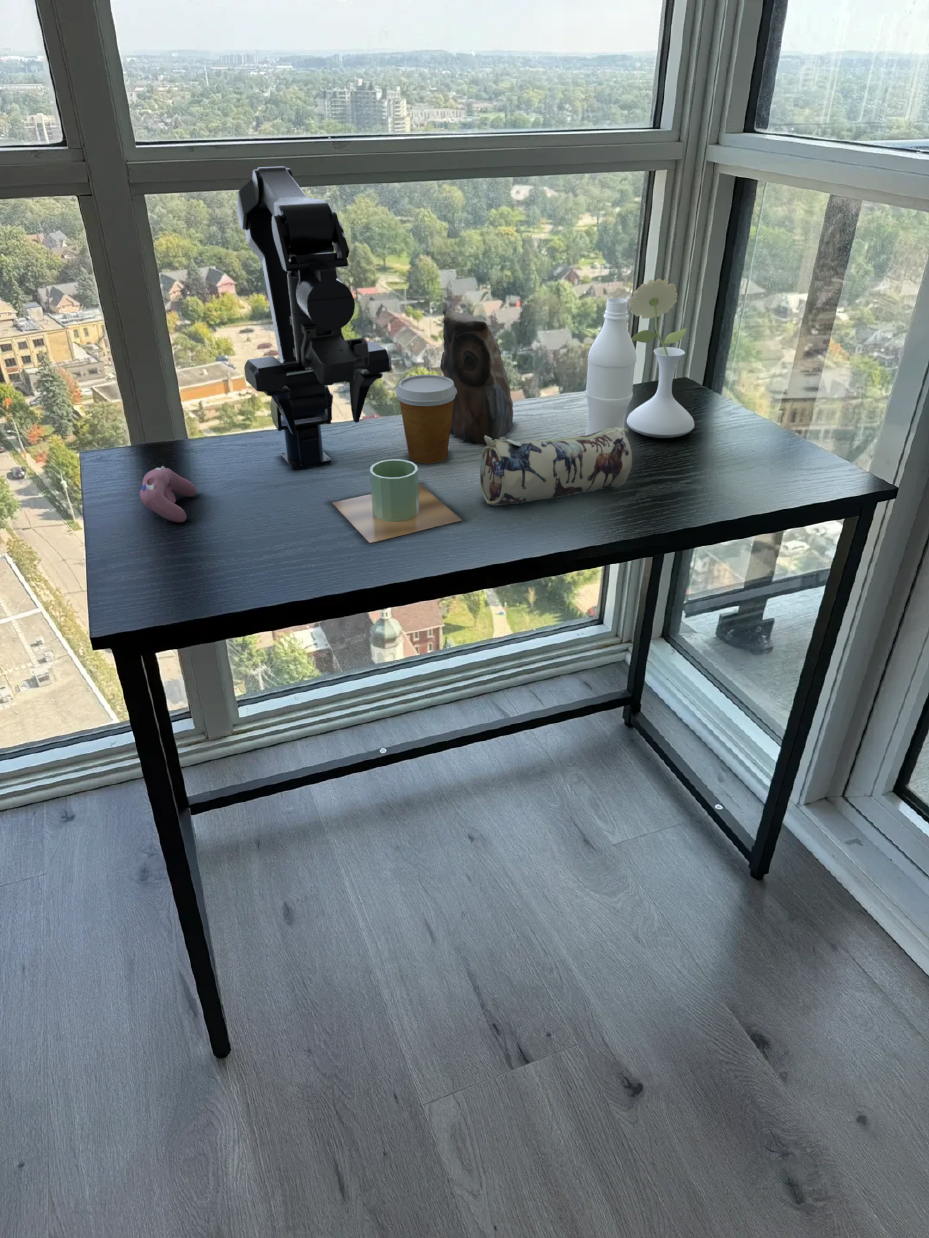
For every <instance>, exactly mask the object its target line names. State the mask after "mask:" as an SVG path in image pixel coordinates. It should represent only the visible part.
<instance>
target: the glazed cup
mask: <svg viewBox="0 0 929 1238" xmlns="http://www.w3.org/2000/svg"><path fill="white" fill-rule="evenodd" d="M369 477H370V479H369V480H370V494H371V495H372V510H373V514H374V516H375V517H377V518H378V519H381V520H384V521H392V522H397V521H405V520H408V519H411V518H413V517H415V516H416V515H417V514H418V513H419V488H418V483H419V467H418V465H417V464H416V463H414V461H410V460H407V459H399V458H398V459H397V458H396V459H385V460H380V461H378V462H376V463H373V464H372V465H371V466H370V467H369Z"/></svg>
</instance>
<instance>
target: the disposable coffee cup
mask: <svg viewBox="0 0 929 1238" xmlns="http://www.w3.org/2000/svg"><path fill="white" fill-rule="evenodd" d="M456 394H457V389H456V388H455V386H454V382H453V381H452V380H451V379H450V378H447V377H444V375H438V374H417V375H411V376H406V377H404V378H402V379H400V380H399V382H398V385H397V388H396V389H395V395H396V397H397V399H398V401H399V407H400V412H401V413H400V414H401V418H402V424H403V430H404V436H405V442H406V448H407V454H408V458H409V459H410V460H411V461H412V462H415V463H418V464H436V463H440V462H443V461H445V460H446V459H447V458H448V456H449V445H450V437H451V434H450V429H451V420H452V411H453V403H454V398H455V395H456Z"/></svg>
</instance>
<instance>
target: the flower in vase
mask: <svg viewBox="0 0 929 1238" xmlns="http://www.w3.org/2000/svg"><path fill="white" fill-rule="evenodd" d="M632 295H633V296H631V297H629V298H628V304H629V306H628V307H629V308H630V314H632V315H634V316H635V317H640V316H641V318H642V319H649V320H651V319H654V327H655V332H654V331H652V330H649V329H643V330H640V331H638V332H637V333H635V334H634V335H633V336H632V337H631V339H632V342H639V343H643V344H646V343H650V342H651V341H653V340H654V339H655V338H656V337H657V339H658V340H659V342H660V344H661V347H657V348H654V349H653V353H654V355H655V357H656V360H657V363H658V383H657V389H656V392H655V394H654V395H653V396H652V397H651V398H649V399H648V400H646V401H645V402H643V403H642V404H640V405H639V406H638V407H636V408H634V409H633V410H632V411H631V412H630V413H629V414H628V416H627V419H626V423H627V426H628V428H630V429H631V430H632V432H633V431H634V432H635V433H637V434H640V435H642V436H645V437H650V438H656V439H672V438H673V439H674V438H678V437H682V436H685V435H688V434H689V433H690V432H691V431H692V430H693V429H694V428H695V421H694V418H693V416H692V415H691V414H690V413H689V411H688V410H686V409H685V408H684V407H683V405H681V404H680V403H679V402H678V401H677V400H676V399H675V397H674V395H673V392H672V390H673V381H674V375H675V372H676V369H677V365H678V363H679V361H681V358H682V357H683V356H684V355H685V354H686V351H685V350H683V349H681V348H678V347H674V346H673V347H672V346H666V345H670V344H675V343H678V342H679V341H681V340H682V339H683V338H684V337H685V335H686V333H687V331H688V330H687V329H688V327H685V328H683V329H680V330H677V331H674V332H671V333H669V334H667V336H666V338H665V340H664V341H663V339H662V337H661V336H660V333H659V330H658V317H660V316H662V315H663V314H668V313H669V312H670V309H672V308H673V307H674V305H675V304H677V302H678V292H677V287H676V284H675V283H669V280H668V279H666V278H665V279H662V278H657V279H656V280H653V279H649V280H648V281H647V282H646V283H642V284H640V286H639V287H638V288H637V289H636V290H634V291H632Z"/></svg>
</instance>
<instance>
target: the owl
mask: <svg viewBox="0 0 929 1238" xmlns="http://www.w3.org/2000/svg"><path fill="white" fill-rule="evenodd" d="M442 314H443V319H442V321H443V322H442V323H443V327H442V338H443V352H442V354H441V358H440V363H439V367H440V370H441V372H442V374H443V375H442V376H444V377H447V378H450V379H451V380H452V381H453V382H454V386H455V388H456V389H457V394H456V395H455V398H454V403H453V411H452V420H451V429H450V435H452V436H453V435H454V436H453V438H456V439H459V440H461V441H462V443H465V444H466V443H467V444H470V445H481V446H485V447H486V446H487V443H486V441H485V439H484V437H485V435H486V436H487V437H490V438H492V441H493V440H499V439H500V438H501V437H505V436H506V433H509V432H510V431H511V430H512V427H513V425H514V422H513V421H514V420H513V419H514V409H513V407H514V402H513V399H512V396H511V395H512V394H511V388H510V384H509V379H508V375H507V373H506V369H505V366H504V363H503V360H502V356H501V355H502V352H501V349H500V346H499V343H498V341H497V338H496V336H495V335H494V333H493V332H492V330H491V328H490V327H489V326H488V323H487V322H486V321H484V320H483V319H482V318H481V317H478V316H474V315H473V314H471V313H465V312H459V311H456V310H452V309H451V308H450V306H446V307H444V308H443V311H442Z"/></svg>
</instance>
